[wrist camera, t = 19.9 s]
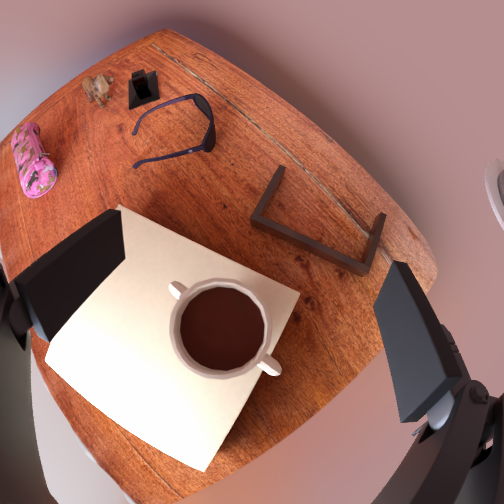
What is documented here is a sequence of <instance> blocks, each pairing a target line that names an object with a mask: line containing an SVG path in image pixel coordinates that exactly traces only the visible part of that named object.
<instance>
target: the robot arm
mask: <svg viewBox="0 0 504 504" xmlns="http://www.w3.org/2000/svg"><path fill="white" fill-rule="evenodd" d="M497 184H498V190H499V194H500V198H501V200H502V203H503V205H504V170H503V171H502V172H501V173H500V174H499V175H498V179H497ZM125 259H126V257H125V248H124V239H123V228H122V216H121V211H120V210H114V209H108V210H107V211H105V212H104V213H102V214H100V215H99V216H97V217H96V218H94V219H93V220H91V221H90V222H88V223H87V224H86V225H84V226H83V227H81V228H80V229H78V230H77V231H75V232H74V233H73V234H71V235H70V236H68V237H67V238H66V239H64V240H63V241H62V242H60V243H59V244H58V245H56V246H55V247H54V248H52V249H51V250H50V251H48V252H47V253H45V254H44V255H42V256H41V257H40V258H38V259H37V261H35V262H33V263H32V264H31V266H29V267H27V268H26V269H25V270H24V271H23V272H21V273H20V274H19V275H18V276H17V277H16V278H14V279H13V280H12V281H11V282H10V283H9V284H8V281H7V278H6V275H5V273H4V270H3V267H2V265H1V263H0V504H58V502H57V501H56V500H55V499H54V497H53V496H52V495H51V494H50V492H49V490H48V488H47V484H46V481H45V477H44V473H43V469H42V465H41V460H40V456H39V451H38V446H37V440H36V433H35V427H34V418H33V409H32V396H31V371H30V369H31V368H30V367H31V365H30V364H31V362H30V361H31V333H30V331H29V329H30V328H31V327H32V326H33V327H34V329H35V331H36V333H37V335H38V336H39V337H40V338H42V339H44V340H46V341H47V342H49V343H50V342H51V341H52V339H53V338H54V337H55V336H56V334H57V333H58V332H59V331H60V330H61V328H62V327H63V326H64V325H65V324H66V322H67V321H68V320H69V319H70V318H71V317H72V315H73V314H74V313H75V312H76V311H77V310H78V309H79V307H80V306H81V305H82V304H83V303H84V302H85V301H86V300H87V299H88V297H89V296H90V295H91V294H92V293H93V292H94V291H95V290H96V289H97V288H98V287H99V286H100V284H101V283H102V282H103V281H104V280H105V279H106V278H107V277H108V276H109V275H110V274H111V273H112V272H113V271H114V270H115V269H116V268H117V267H118V266H119V265H120V264H121V263H122V262H123V261H124V260H125ZM373 308H374V312H375V315H376V318H377V322H378V325H379V329H380V332H381V336H382V340H383V343H384V347H385V351H386V355H387V359H388V363H389V367H390V372H391V376H392V381H393V385H394V390H395V395H396V400H397V405H398V411H399V417H400V422H401V423H406V422H417V421H418V420H419V419H421V418H422V417H423V416H424V415H425V414H426V413H427V416H428V421H427V422H426V423H424V424H423V425H422V426H421V427H420V428H418V429H417V430H416V431H415V432H414V433H413V434H412V435H413V436H414V435H416V434H417V433H418V432H419V434H418V436H417V438H416V439H415V441H414V443H413V444H412V446H411V448H410V450H409V451H408V453H407V455H406V456H405V458H404V459H403V461H402V462H401V464H400V465H399V467H398V468H397V470H396V471H395V473H394V474H393V476H392V477H391V478H390V480H389V481H388V483H387V484H386V486H385V487H384V488H383V489H382V491H381V492H380V493H379V495H378V496H377V497H376V499H375V500H374V501H373V502H372V503H371V504H504V393H503V394H502V395H501V396H500V397H499V398H496V397H492V396H489V393H488V391H487V389H486V387H485V386H484V385H483V384H482V383H481V382H479V381H476V380H471V378H470V375H469V373H468V371H467V368H466V366H465V363H464V361H463V359H462V356H461V354H460V353H459V350H458V348H457V346H456V345H455V341H454V339H453V337H452V335H451V333H450V332H449V331H448V330H447V329H446V327H445V326H444V325H442V324H440V323H439V320H438V319H437V317H436V315H435V313H434V311H433V309H432V307H431V305H430V303H429V301H428V299H427V297H426V296H425V294H424V292H423V290H422V288H421V287H420V285H419V283H418V281H417V280H416V278H415V276H414V274H413V273H412V271H411V269H410V268H409V266H408V264H407V263H404V262H399V261H395V260H393V262H392V264H391V267H390V269H389V272H388V274H387V276H386V279H385V281H384V283H383V286H382V288H381V290H380V292H379V295H378V297H377V299H376V301H375V303H374V305H373ZM491 439H493V445H492V446H491V447H489V448H488V449H486V443H487V442H489V441H490V440H491Z"/></svg>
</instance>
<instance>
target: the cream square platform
mask: <svg viewBox="0 0 504 504" xmlns="http://www.w3.org/2000/svg"><path fill="white" fill-rule="evenodd" d="M116 210H120V211H121V216H122V228H123V239H124V248H125V257H126V259H125V260H124V261H123V262H122V263H121V264H120V265H119V266H118V267H117V268H116V269H115V270H114V271H113V272H112V273H111V274H110V275H109V276H108V277H107V278H106V279H105V280H104V281H103V282H102V283H101V284H100V286H99V287H98V288H97V289H96V290H95V291H94V292H93V293H92V294H91V295H90V296H89V297H88V299H87V300H86V301H85V302H84V303H83V304H82V305H81V306H80V307H79V309H78V310H77V311H76V312H75V313H74V314H73V315H72V317H71V318H70V319H69V320H68V321H67V322H66V324H65V325H64V326H63V327H62V328H61V330H60V331H59V332H58V333H57V334H56V336H55V337H54V338H53V339H52V341H51V344H50V347H49V350H48V353H47V356H46V359H45V361H46V362H47V363H48V364H49V365H50V366H51V367H52V368H53V369H54V370H55V371H56V372H57V373H58V374H59V375H60V376H61V377H62V378H63V379H65V380H66V381H67V382H68V383H69V384H70V385H71V386H72V387H73V388H74V389H76V390H77V391H78V392H79V393H80V394H81V395H83V396H84V397H85V398H86V399H87V400H88V401H90V402H91V403H92V404H93V405H95V406H96V407H97V408H98V409H100V410H101V411H102V412H104V413H105V414H106V415H108V416H109V417H110V418H112V419H113V420H114V421H116V422H117V423H119V424H120V425H121V426H123V427H124V428H126V429H127V430H129V431H130V432H132V433H133V434H135V435H136V436H138V437H139V438H141V439H143V440H144V441H146V442H148V443H149V444H151V445H152V446H154V447H156V448H158V449H159V450H161V451H163V452H165V453H166V454H168V455H170V456H172V457H174V458H176V459H178V460H179V461H181V462H183V463H185V464H187V465H189V466H191V467H194V468H196V469H198V470H200V471H202V472H205V470H206V469H207V467H208V465H209V464H210V462H211V461H212V459H213V457H214V456H215V454H216V453H217V451H218V449H219V448H220V446H221V444H222V443H223V441H224V439H225V438H226V436H227V434H228V433H229V431H230V429H231V427H232V426H233V424H234V422H235V421H236V419H237V417H238V415H239V414H240V412H241V410H242V408H243V406H244V405H245V403H246V401H247V399H248V397H249V396H250V394H251V392H252V390H253V388H254V386H255V384H256V383H257V381H258V379H259V377H260V375H261V373H262V371H263V369H261V368H260V367H259V366H255V367H254V368H253V369H251V370H250V371H249V372H247V373H246V374H245V375H241V376H238V377H234V378H231V379H227V380H219V379H207V378H204V377H202V376H199V375H197V374H195V373H193V372H192V371H190V370H189V369H187V368H186V367H185V366H184V365H183V364H182V363H181V362H180V360H179V359H178V357H177V355H176V354H175V352H174V350H173V348H172V344H171V339H170V335H169V326H170V318H171V312H172V310H173V308H174V306H175V304H176V302H177V300H178V299H177V298H176V297H175V296H174V295H173V294H172V293H171V291H170V290H169V285H170V283H171V282H173V281H177V282H180V283H182V284H183V285H185V286H186V287H187V288H188V289H189V288H190V287H191V286H192V285H194V284H195V283H197V282H200V281H204V280H207V279H211V278H214V277H217V278H228V279H236V280H238V281H239V282H241V283H243V284H245V285H247V286H249V287H251V288H253V289H254V290H255V291H256V293H257V294H258V295H259V296H260V297H261V299H262V300H263V301H264V302H265V303H266V305H267V308H268V311H269V314H270V318H271V321H272V336H271V344H270V346H269V348H268V350H267V352H266V353H267V354H268V355H270V356H271V354H272V352H273V350H274V348H275V346H276V344H277V342H278V340H279V338H280V336H281V334H282V332H283V330H284V327H285V325H286V323H287V321H288V319H289V317H290V315H291V313H292V311H293V309H294V306H295V304H296V302H297V300H298V298H299V296H300V292H298V291H296V290H293V289H291V288H289V287H287V286H285V285H283V284H281V283H279V282H276V281H274V280H272V279H270V278H268V277H266V276H264V275H262V274H260V273H257V272H255V271H253V270H251V269H249V268H247V267H245V266H243V265H241V264H239V263H237V262H235V261H233V260H230V259H228V258H226V257H224V256H222V255H220V254H218V253H216V252H214V251H212V250H210V249H208V248H206V247H204V246H202V245H200V244H198V243H196V242H194V241H191V240H189V239H187V238H185V237H183V236H181V235H179V234H177V233H175V232H173V231H171V230H169V229H167V228H165V227H163V226H161V225H159V224H157V223H155V222H153V221H151V220H149V219H147V218H145V217H143V216H141V215H139V214H137V213H135V212H133V211H131V210H129V209H127V208H125V207H124V206H122V205H120V204H119V205H118V207H117V208H116Z"/></svg>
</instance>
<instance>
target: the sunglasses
mask: <svg viewBox="0 0 504 504" xmlns="http://www.w3.org/2000/svg"><path fill="white" fill-rule="evenodd" d="M188 99H193V101H194V103H195V105H196V106H197V107H198V108H199V109H200V110H201V111H202V112H203V113H204V114H205V115H206V116H207V117H208V119H209V120H210V124H209V128H208V130H207V133H206V135H205V137H204V139H203V142H202V144H201V145H199V146H196V147H192V148H189V149H186V150H183V151H179V152H176V153H172V154H168V155H165V156H161V157H156V158H150V159H144V160H141V161H138V162H137V163H135V164H134V165H133V168H138V167H139V166H140V165H141V164H142V163H146V162H153V161H159V160H164V159H168V158H173V157H177V156H181V155H185V154H189V153H193V152H197V151H200V150H204V152H207V153H209V152H211V151H212V149H213V147H214V145H215V141H216V131H215V125H214V118H213V113H212V109H211V107H210V105H209V103H208V101H207V100H206V99H205V98H204V97H203V96H202V95H200V94H197V93H194V94H189V95H185V96H182V97H179V98H176V99H173V100H170V101H167V102H165V103H162V104H160V105H158V106H156V107H154V108H152V109H150V110H148V111H147V112H145V113H144V114H143V115H142V116H141V117H140V118H139V120H138V122H137V124H136V126H135V128H134V130H133V132H132V135H136V134H137V131H138V128H139V125H140V122H141V121H142V119H143V118H144V117H145V116H146V115H147V114H149V113H151V112H152V111H154V110H156V109H159V108H161V107H164V106H167V105H170V104H173V103H176V102H180V101H183V100H188Z"/></svg>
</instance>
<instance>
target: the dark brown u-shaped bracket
mask: <svg viewBox="0 0 504 504" xmlns="http://www.w3.org/2000/svg"><path fill="white" fill-rule="evenodd" d="M285 168H286V167H284V166H282V165H279V167H278V169H277V170H276V172H275V174H274V176H273V178H272V180H271V181H270V183H269V185H268V187H267V189H266V191H265V192H264V194H263V196H262V198H261V200H260V202H259V203H258V205H257V207H256V209H255V211H254V213H253V214H252V216H251V218H250V219H251V225H252V226H254V227H256V228H259V229H261V230H263V231H265V232H267V233H270V234H272V235H274V236H276V237H278V238H280V239H283V240H285V241H287V242H289V243H291V244H293V245H295V246H298V247H300V248H302V249H304V250H306V251H308V252H310V253H313V254H315V255H317V256H319V257H321V258H323V259H325V260H327V261H329V262H331V263H334V264H336V265H338V266H340V267H342V268H344V269H346V270H348V271H350V272H352V273H354V274H356V275H358V276H360V277H363V276H365V275H367V274H368V273H369V270H370V267H371V264H372V261H373V258H374V255H375V252H376V249H377V246H378V242H379V239H380V236H381V233H382V229H383V226H384V222H385V218H386V214H384V213H382V212H381V213H380V214H379V215H378V216H377V217H376V218H375V220H374V224H373V227H372V230H371V233H370V236H369V239H368V242H367V245H366V248H365V251H364V254H363V257H362V260H361V263H360V262H358V261H356V260H354V259H352V258H350V257H348V256H346V255H344V254H342V253H340V252H338V251H336V250H334V249H332V248H330V247H328V246H326V245H323V244H321V243H319V242H317V241H315V240H313V239H311V238H309V237H306V236H304V235H302V234H300V233H298V232H296V231H294V230H291V229H289V228H287V227H285V226H283V225H280V224H278V223H276V222H274V221H272V220H269V219H267V218H265V217H263V215H264V213H265V211H266V209H267V207H268V205H269V203H270V201H271V200H272V198H273V196H274V194H275V192H276V190H277V188H278V186H279V184H280V182H281V181H282V179H283V177H284V174H285Z"/></svg>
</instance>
